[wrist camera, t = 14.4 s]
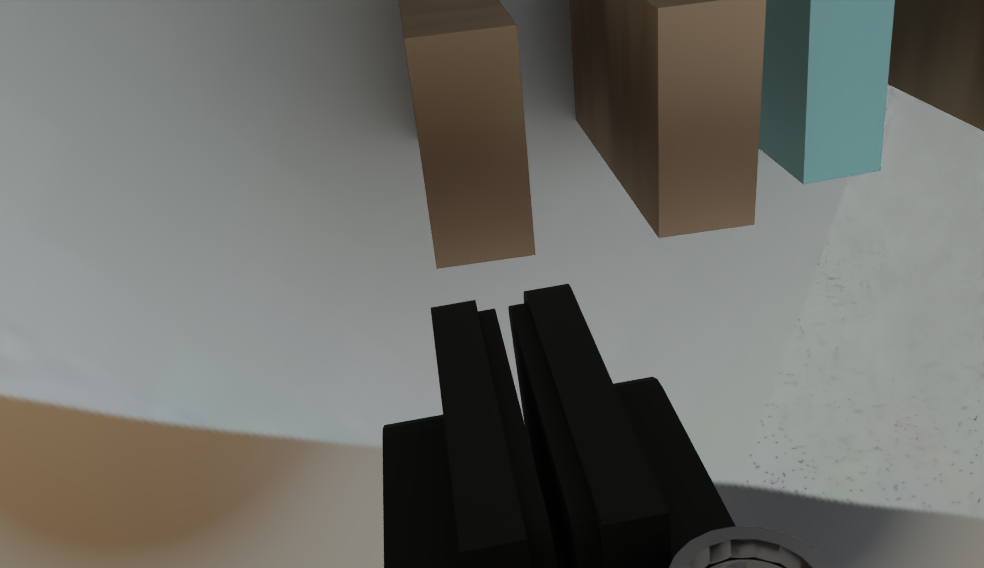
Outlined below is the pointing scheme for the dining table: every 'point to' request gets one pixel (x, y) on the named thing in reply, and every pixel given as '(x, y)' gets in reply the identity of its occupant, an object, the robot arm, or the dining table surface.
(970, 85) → the domino
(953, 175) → the dining table surface
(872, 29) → the domino
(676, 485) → the robot arm
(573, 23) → the domino
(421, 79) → the domino
